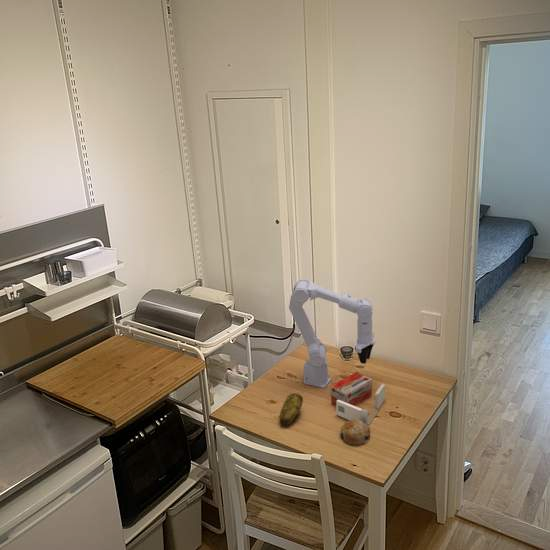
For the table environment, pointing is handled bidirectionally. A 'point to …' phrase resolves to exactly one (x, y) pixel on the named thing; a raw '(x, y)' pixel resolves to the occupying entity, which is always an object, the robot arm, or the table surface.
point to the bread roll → (355, 432)
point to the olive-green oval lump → (290, 408)
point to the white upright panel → (378, 401)
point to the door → (348, 411)
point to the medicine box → (352, 389)
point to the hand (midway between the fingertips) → (364, 360)
